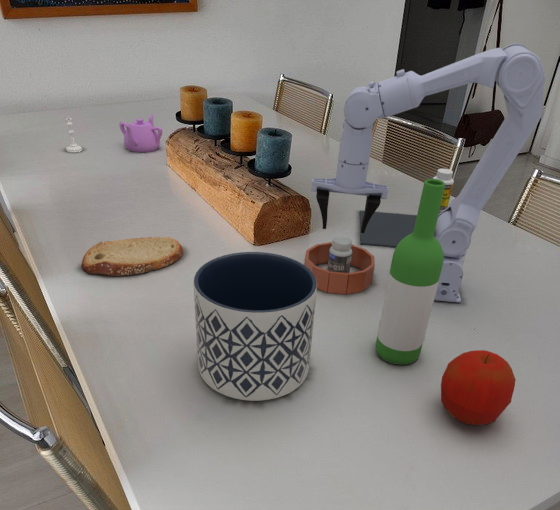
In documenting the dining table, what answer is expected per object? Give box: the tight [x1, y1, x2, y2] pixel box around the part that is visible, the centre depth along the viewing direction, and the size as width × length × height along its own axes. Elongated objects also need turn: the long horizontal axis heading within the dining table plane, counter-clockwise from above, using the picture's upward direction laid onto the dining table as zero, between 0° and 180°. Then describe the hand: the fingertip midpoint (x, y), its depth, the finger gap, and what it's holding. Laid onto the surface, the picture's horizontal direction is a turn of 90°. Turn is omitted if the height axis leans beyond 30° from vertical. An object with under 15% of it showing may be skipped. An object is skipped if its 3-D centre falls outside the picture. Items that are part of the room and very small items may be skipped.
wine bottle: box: [375, 178, 445, 366], centre depth 85 cm, size 8×8×30 cm
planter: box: [193, 251, 318, 402], centre depth 85 cm, size 18×18×16 cm
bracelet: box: [303, 241, 376, 295], centre depth 114 cm, size 14×14×4 cm
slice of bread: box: [81, 236, 184, 277], centre depth 116 cm, size 18×18×4 cm
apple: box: [440, 349, 517, 426], centre depth 80 cm, size 10×10×12 cm
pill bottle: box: [326, 235, 353, 273], centre depth 113 cm, size 5×5×8 cm
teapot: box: [118, 113, 163, 153], centre depth 176 cm, size 12×14×9 cm
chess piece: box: [65, 115, 83, 153], centre depth 170 cm, size 5×5×10 cm
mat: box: [359, 210, 436, 248], centre depth 136 cm, size 20×20×1 cm
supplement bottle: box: [432, 168, 455, 213], centre depth 145 cm, size 6×6×10 cm
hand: (343, 229), depth 109 cm, fingers open, 7 cm apart
